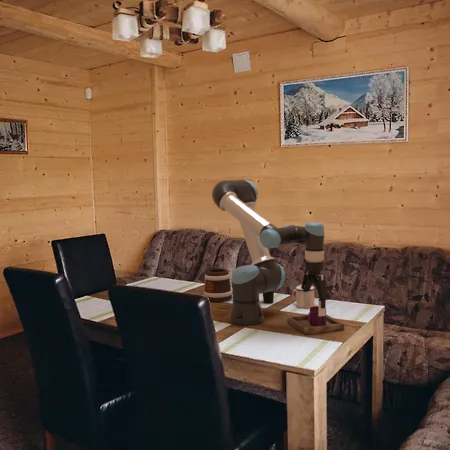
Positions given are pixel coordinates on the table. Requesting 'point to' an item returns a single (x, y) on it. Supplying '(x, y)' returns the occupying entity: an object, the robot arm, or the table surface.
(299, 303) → the teacup with lid
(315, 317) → the cup
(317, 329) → the walnut tray
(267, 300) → the drinking cup
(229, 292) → the mug
